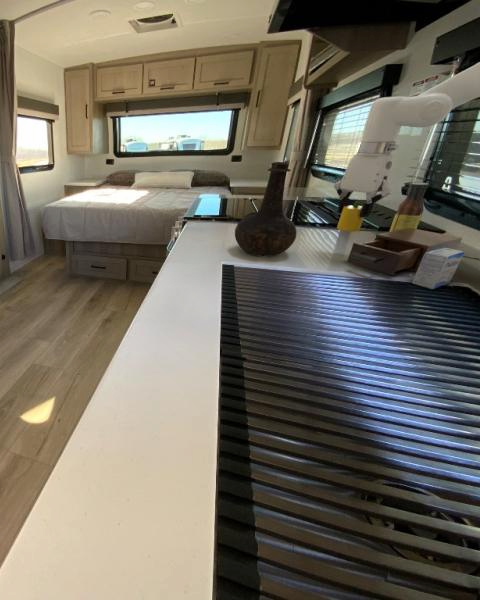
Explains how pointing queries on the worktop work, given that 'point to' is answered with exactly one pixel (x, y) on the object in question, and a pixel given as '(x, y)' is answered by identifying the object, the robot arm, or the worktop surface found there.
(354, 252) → the drawer
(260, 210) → the glass bottle
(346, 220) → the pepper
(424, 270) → the medicine box
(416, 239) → the cabinet
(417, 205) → the sauce bottle
